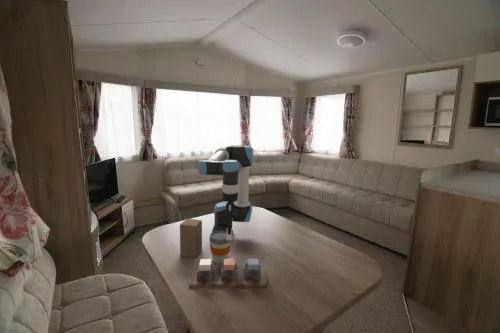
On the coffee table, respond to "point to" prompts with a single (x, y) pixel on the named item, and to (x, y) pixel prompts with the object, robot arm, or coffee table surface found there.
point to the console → (228, 277)
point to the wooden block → (190, 238)
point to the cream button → (205, 265)
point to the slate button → (252, 264)
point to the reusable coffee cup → (219, 246)
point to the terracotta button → (229, 264)
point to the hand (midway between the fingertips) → (229, 234)
